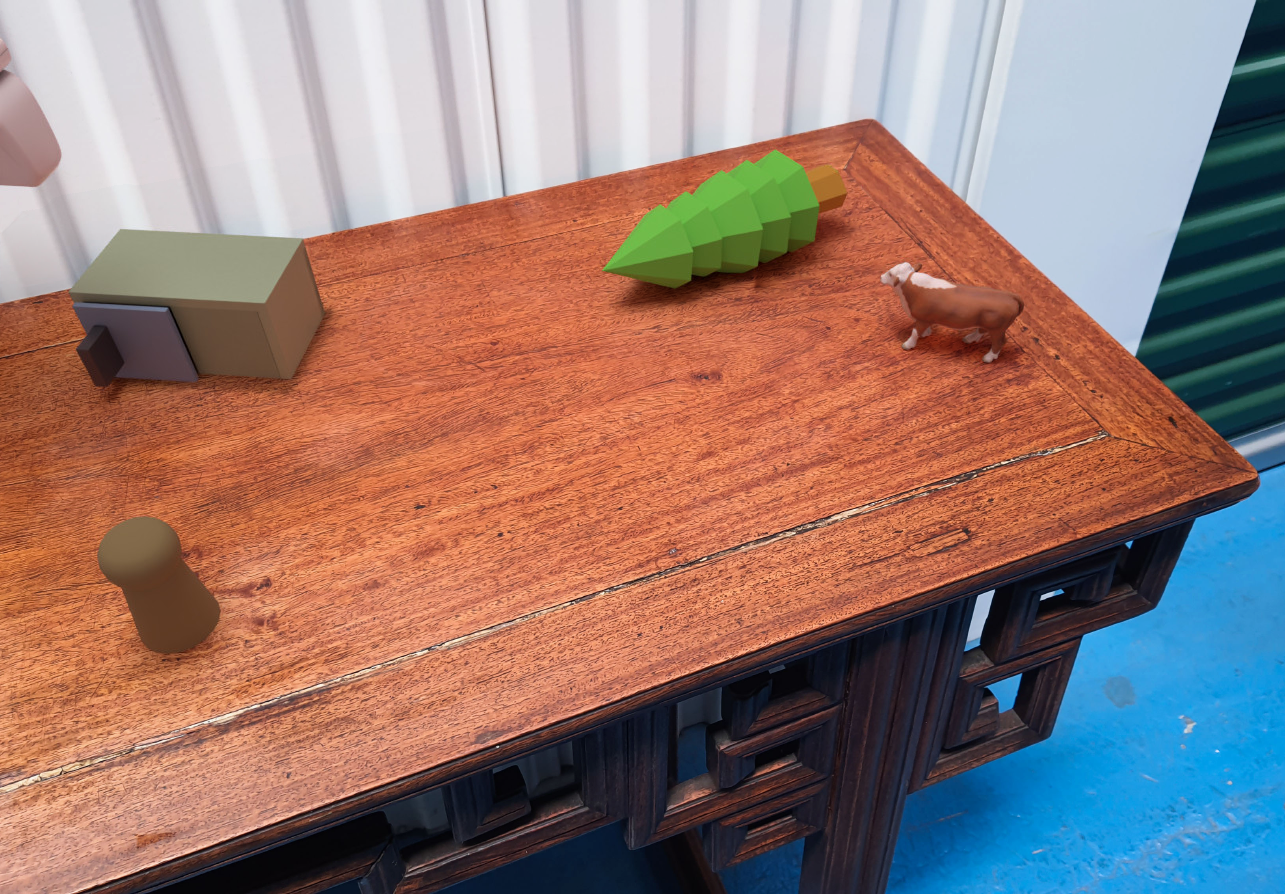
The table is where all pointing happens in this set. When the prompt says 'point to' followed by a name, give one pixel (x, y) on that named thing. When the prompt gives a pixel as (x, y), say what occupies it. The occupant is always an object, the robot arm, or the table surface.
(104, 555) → the cork
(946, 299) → the bull figurine
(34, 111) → the robot arm
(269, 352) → the cupboard
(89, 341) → the slide door
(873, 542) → the table surface
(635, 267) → the decorative tree
